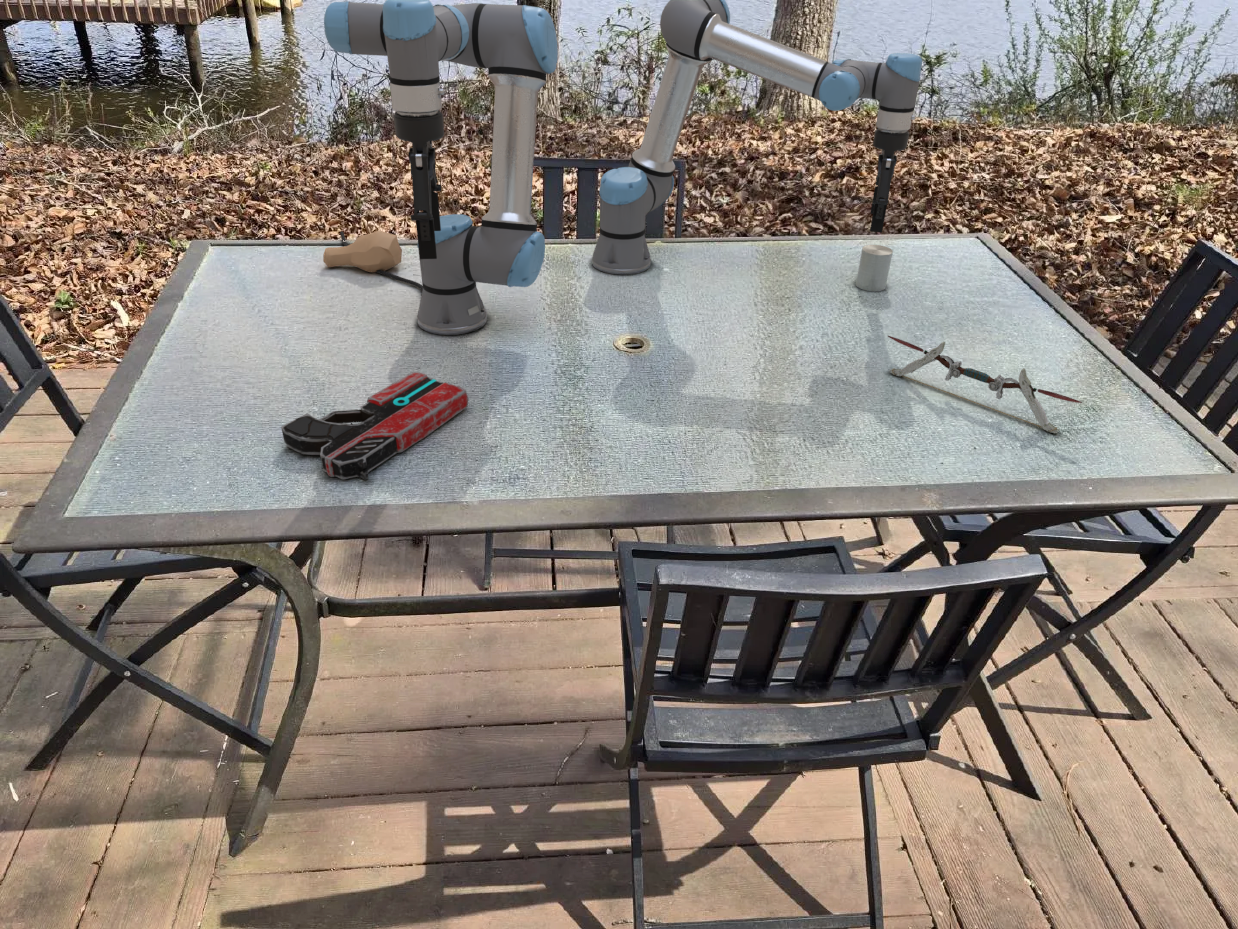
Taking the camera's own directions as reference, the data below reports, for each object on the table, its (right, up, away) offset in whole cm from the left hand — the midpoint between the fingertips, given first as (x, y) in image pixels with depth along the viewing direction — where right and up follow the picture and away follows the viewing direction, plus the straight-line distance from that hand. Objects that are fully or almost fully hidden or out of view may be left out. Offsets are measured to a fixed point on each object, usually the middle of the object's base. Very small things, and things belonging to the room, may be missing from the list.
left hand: (430, 243), depth 148 cm
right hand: (+93, +20, +61) cm, 113 cm away
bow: (+101, -25, +24) cm, 106 cm away
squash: (-33, +13, +74) cm, 82 cm away
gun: (-11, -31, +10) cm, 35 cm away
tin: (+95, +8, +73) cm, 120 cm away
